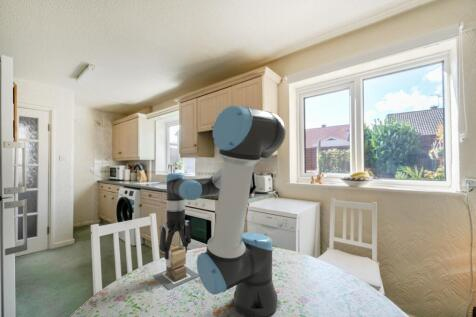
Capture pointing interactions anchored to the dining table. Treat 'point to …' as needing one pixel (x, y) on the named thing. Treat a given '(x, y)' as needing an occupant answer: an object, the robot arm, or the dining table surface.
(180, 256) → the oak block
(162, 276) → the mat
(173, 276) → the base block
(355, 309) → the dining table surface
